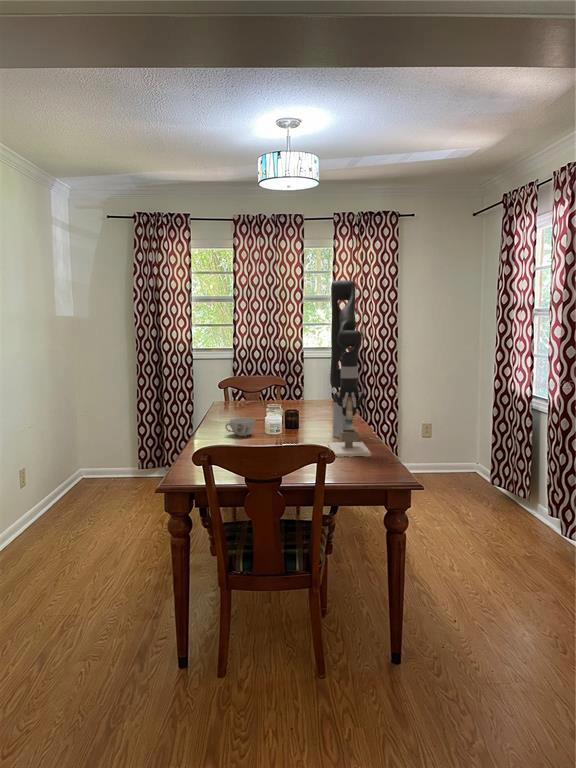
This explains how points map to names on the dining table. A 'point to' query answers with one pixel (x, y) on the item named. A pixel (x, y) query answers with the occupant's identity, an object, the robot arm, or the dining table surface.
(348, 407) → the rail post
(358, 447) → the cup bracket
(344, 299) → the robot arm
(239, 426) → the teacup
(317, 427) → the dining table surface
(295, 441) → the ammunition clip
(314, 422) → the dining table surface
